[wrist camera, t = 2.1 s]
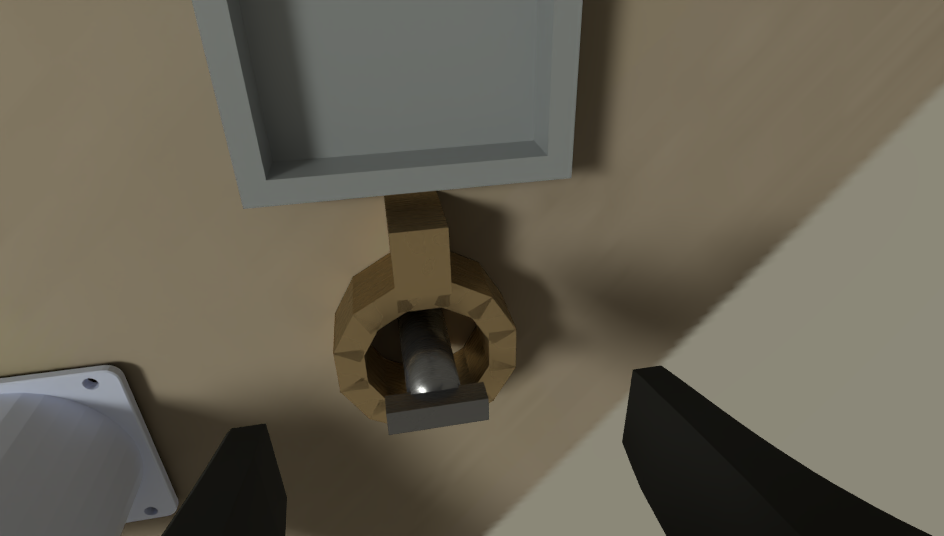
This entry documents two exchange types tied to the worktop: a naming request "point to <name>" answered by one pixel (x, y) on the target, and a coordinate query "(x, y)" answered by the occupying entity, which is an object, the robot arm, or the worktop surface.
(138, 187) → the worktop surface
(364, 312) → the ring
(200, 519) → the robot arm
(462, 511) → the worktop surface
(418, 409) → the bolt
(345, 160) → the tray
